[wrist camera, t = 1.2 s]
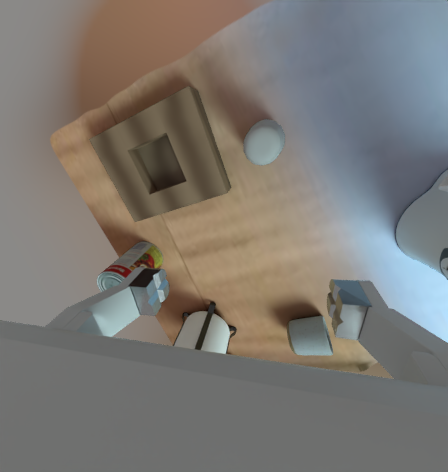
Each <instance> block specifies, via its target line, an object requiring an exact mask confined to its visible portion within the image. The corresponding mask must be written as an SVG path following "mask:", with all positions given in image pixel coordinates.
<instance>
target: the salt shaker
mask: <svg viewBox="0 0 448 472" xmlns="http://www.w3.org/2000/svg"><path fill="white" fill-rule="evenodd" d="M284 143H285V134H284V132H283V129H282V127H281V126H280V125H279V124H278V123H277V122H275V121H273V120H268V119H265V120H262V121H259V122H257V123H256V124H255V125H253V126H252V127H251V128H250V130H249V132H248V133H247V135H246V137H245V140H244V153H245V155H246V157H247V159H248V160H250V161H251V162H252V163H253V164H257V165H266V164H270V163H271V162H272V161H274V160H275V159H276V158H277V157H278V155H279V154H280V152H281V150H282V149H283V147H284Z"/></svg>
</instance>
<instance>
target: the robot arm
mask: <svg viewBox="0 0 448 472" xmlns="http://www.w3.org/2000/svg"><path fill="white" fill-rule="evenodd" d="M396 240H397V243H398V246H399V247H400V249H401V250H402V251H403V253H405V254H406V255H407V256H409V257H410V258H412V259H414V260H417V261H419V262H421V263H423V264H425V265H427V266H429V267H431V268H432V269H434V270H436V271H437V272H439V273H441V274H442V275H444V276H445V277H446V278H447V280H448V170H446V171H445V172H444V173H442V175H441V176H440V177H439V178H438V179H437V181H436V182H435V183H434V185H433V186H432V188H431V189H430V190H429V191H427V192H426V193H425V194H423V195H422V196H421V197H419V198H418V199H417V200H416V201H414V202H413V203H412V204H411V205H410V206H409V207H408V208H407V209H406V211H405V212H404V213H403V215H402V216H401V218H400V220H399V222H398V225H397V229H396ZM166 276H167V275H166V272H165V270H164V269H157V268H145V267H137V268H135V269H134V270H133V271H132V272H131V273H130V274H129V275H128V276H127V277H126V278H125V279H124V280H123V281H122V282H121V283H120V284H119V285H118V286H113V287H111V288H109V289H107V290H105V291H103V292H101V293H98V294H96V295H94V296H92V297H90V298H87V299H85V300H83V301H81V302H79V303H77V304H75V305H72V306H70V307H68V308H66V309H65V310H64V311H63V312H61V313H60V314H59V315H58V316H57V317H56V318H55V319H53V320H52V321H51V322H50V323H49V324H48V325H46V326H45V327H42V326H36V325H29V324H22V323H15V322H9V321H2V320H0V472H448V343H447V342H445V341H443V340H442V339H440V338H439V337H437V336H435V335H434V334H432V333H431V332H429V331H428V330H426V329H424V328H423V327H421V326H420V325H418V324H416V323H415V322H413V321H412V320H410V319H408V318H407V317H405V316H404V315H402V314H400V313H399V312H397V311H396V310H394V309H389V308H388V306H387V305H386V303H385V302H384V300H383V299H382V297H381V296H380V294H379V293H378V291H377V289H376V288H375V286H374V285H373V283H372V282H371V281H363V280H356V281H353V280H335V279H331V281H330V285H329V288H330V290H331V292H330V293H329V294H328V296H327V309H328V313H329V316H330V317H331V318H332V327H333V330H334V334H335V337H338V338H345V339H352V340H359V343H360V344H361V345H362V346H363V347H364V348H365V349H366V350H367V351H368V352H369V353H370V354H371V355H372V356H373V357H374V358H375V359H376V360H377V361H378V362H379V363H380V364H381V365H382V366H383V368H385V370H386V371H387V372H388V373H389V374H390V375H391V376H392V377H393V378H394V379H389V378H383V377H376V376H369V375H362V374H356V373H349V372H343V371H336V370H329V369H322V368H316V367H309V366H302V365H296V364H289V363H283V362H276V361H269V360H263V359H256V358H249V357H243V356H236V355H229V354H223V353H216V352H209V351H203V350H196V349H189V348H183V347H176V346H169V345H162V344H155V343H149V342H142V341H136V340H129V339H122V338H116V337H112V336H113V335H115V334H116V333H117V332H118V331H120V330H121V329H123V328H124V327H125V326H127V325H128V324H129V323H130V322H132V321H133V320H134V319H136V318H137V317H139V316H140V315H150V316H155V315H156V314H157V312H158V311H159V309H160V308H161V302H163V301H164V300H166V298H167V296H168V294H169V283H168V281H167V280H166V279H165V278H166Z"/></svg>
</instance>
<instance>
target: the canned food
mask: <svg viewBox="0 0 448 472" xmlns="http://www.w3.org/2000/svg"><path fill="white" fill-rule="evenodd" d="M162 263H163V256H162V253H161V251H160V250H159V249H158V248H157V247H156V246H155V245H154V244H151V243H149V242H139V243H137V244H136V245H134V246H133V247H132V248H131V249H130V250H128V251H127V252H126V253H125V254H124V255H122V256H121V257H120V258H119V259H118V260H116V261H115V262H114V263H113V264H112V265H110V266H109V267H108V268H107V269H105V270H104V271H103V272H102V273H101V274H99V276H98V278H97V285H98V288H99V290H100V291H101V292H103V291H105V290H107V289H109V288H111V287H113V286H118V285H119V284H120V283H121V282H122V281H123V280H124V279H125V278H126V277H127V276H128V275H129V274H130V273H131V272H132V271H133V270H134V269H135V268H137V267H145V268H157V269H159V268H160V266H161V265H162Z"/></svg>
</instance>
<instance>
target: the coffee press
mask: <svg viewBox="0 0 448 472" xmlns="http://www.w3.org/2000/svg"><path fill="white" fill-rule="evenodd" d="M215 306H216V304H215V303H210V306H209V309H208V312H206V311H199V312H195V313H193V314H191V315H190V316H189V314H188V313H183V317H182V319H183V322H184V321H185V320H184V316H187V317H188V318H187V319H186V321H185V323H183V325H182V327H181V329H180V332H179V334H178V336H177V338H176V340H175V342H174V344H173V346H176V347H183V348H189V349H196V350H203V351H209V352H216V353H223V354H227V350H228V346H227V345H229V342H228V341H230V338H231V337H232V336H234V335H235V334H236V328H235V327H231V328H229V327H228V325H227V324H226V322H225V321H224V320H223V319H222V318H221V317H219V316H218V315H216V314H214V309H215ZM232 330H233V331H235V332H234V333H232V334H231V335H230V331H232ZM229 335H230V338H229Z"/></svg>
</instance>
